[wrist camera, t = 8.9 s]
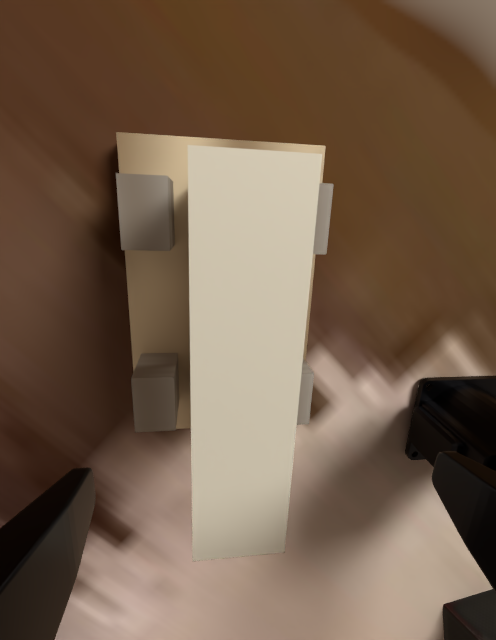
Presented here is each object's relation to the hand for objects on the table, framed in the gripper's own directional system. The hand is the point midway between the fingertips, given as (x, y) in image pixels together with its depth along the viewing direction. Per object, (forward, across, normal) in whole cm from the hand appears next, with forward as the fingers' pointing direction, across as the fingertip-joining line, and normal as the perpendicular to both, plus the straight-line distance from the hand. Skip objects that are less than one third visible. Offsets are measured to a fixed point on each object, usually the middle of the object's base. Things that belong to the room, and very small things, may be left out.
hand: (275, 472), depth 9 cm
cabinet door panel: (+11, +1, -2) cm, 11 cm away
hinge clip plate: (+13, +1, -2) cm, 13 cm away
